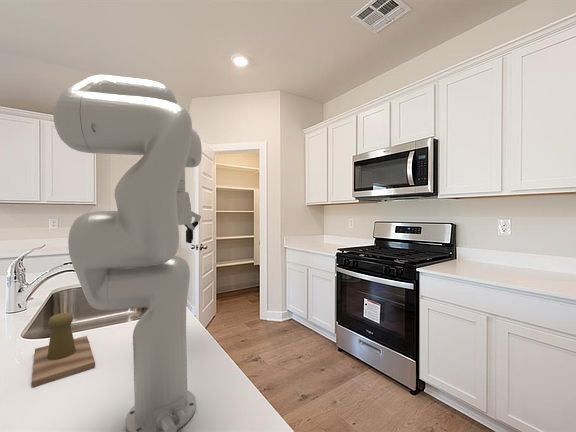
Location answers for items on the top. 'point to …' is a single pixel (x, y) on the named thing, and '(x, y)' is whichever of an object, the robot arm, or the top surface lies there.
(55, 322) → the cork
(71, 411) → the top surface
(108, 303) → the robot arm
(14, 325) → the top surface
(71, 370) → the walnut board
